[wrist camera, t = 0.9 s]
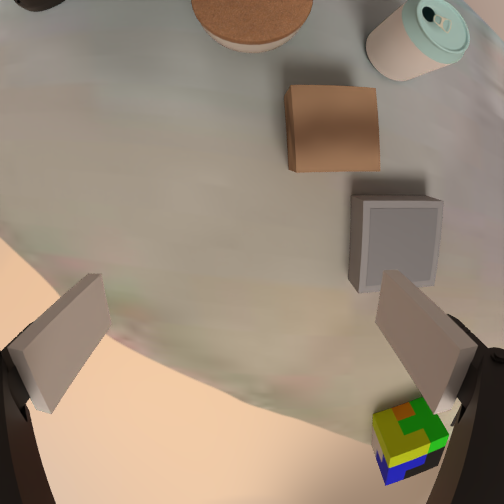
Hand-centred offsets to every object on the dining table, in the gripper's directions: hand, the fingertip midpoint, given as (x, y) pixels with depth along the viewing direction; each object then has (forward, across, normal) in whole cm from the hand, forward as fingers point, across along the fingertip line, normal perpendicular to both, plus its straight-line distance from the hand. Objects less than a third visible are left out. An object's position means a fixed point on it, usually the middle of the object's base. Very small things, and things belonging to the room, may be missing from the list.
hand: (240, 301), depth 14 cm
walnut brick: (+21, +8, +9) cm, 25 cm away
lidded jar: (+21, +1, +22) cm, 30 cm away
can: (+21, +17, +19) cm, 33 cm away
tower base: (+21, +17, -3) cm, 27 cm away
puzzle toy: (+22, +26, -36) cm, 50 cm away
